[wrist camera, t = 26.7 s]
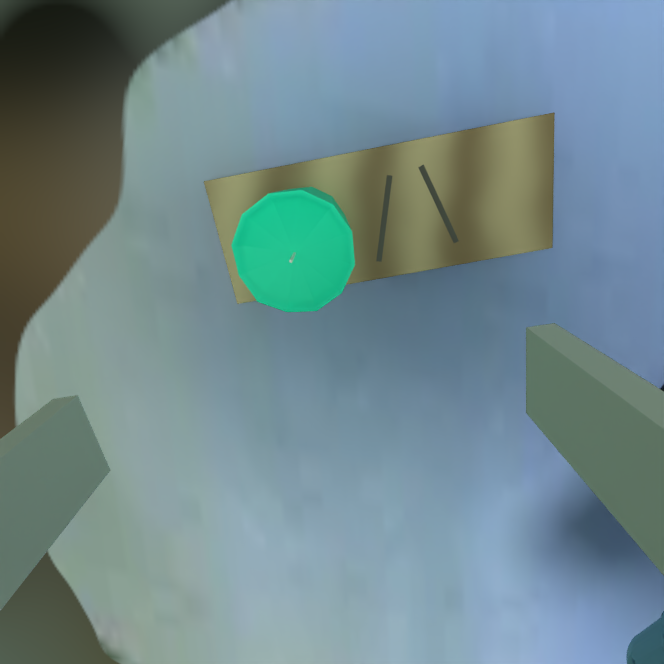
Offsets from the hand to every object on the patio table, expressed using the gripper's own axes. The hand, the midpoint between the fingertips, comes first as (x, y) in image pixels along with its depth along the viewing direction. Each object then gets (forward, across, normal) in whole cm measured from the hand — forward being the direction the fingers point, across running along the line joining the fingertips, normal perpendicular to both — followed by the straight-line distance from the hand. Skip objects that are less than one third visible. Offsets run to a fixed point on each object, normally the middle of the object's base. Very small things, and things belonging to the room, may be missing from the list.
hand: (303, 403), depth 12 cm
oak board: (+21, -5, -3) cm, 22 cm away
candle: (+20, +1, -3) cm, 20 cm away
